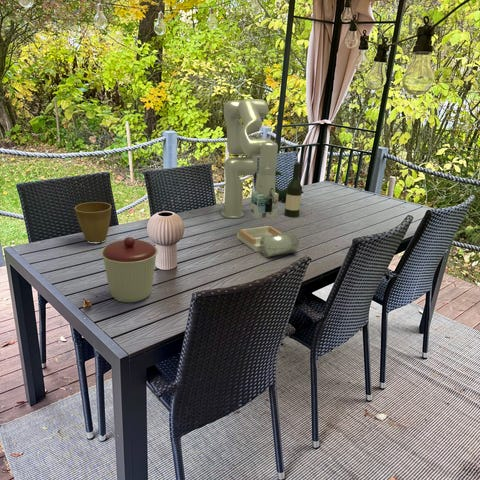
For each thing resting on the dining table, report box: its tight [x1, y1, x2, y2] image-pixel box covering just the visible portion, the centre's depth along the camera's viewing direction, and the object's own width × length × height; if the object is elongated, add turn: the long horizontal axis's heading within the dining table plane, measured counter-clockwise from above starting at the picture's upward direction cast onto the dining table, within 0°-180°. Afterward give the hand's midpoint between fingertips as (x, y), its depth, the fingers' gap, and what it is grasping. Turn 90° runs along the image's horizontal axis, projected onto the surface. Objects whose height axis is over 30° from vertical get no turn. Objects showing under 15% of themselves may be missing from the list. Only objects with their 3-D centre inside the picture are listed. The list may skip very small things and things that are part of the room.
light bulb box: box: [249, 191, 279, 219], centre depth 190 cm, size 11×7×11 cm, turn 118°
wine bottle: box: [284, 161, 303, 219], centre depth 232 cm, size 8×8×30 cm
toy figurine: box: [275, 170, 305, 203], centre depth 260 cm, size 9×19×25 cm
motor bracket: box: [236, 225, 299, 258], centre depth 191 cm, size 28×18×9 cm, turn 29°
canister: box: [100, 236, 159, 303], centre depth 140 cm, size 18×18×21 cm
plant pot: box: [74, 201, 112, 242], centre depth 183 cm, size 15×15×16 cm
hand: (263, 209), depth 191 cm, fingers closed on light bulb box, 6 cm apart
